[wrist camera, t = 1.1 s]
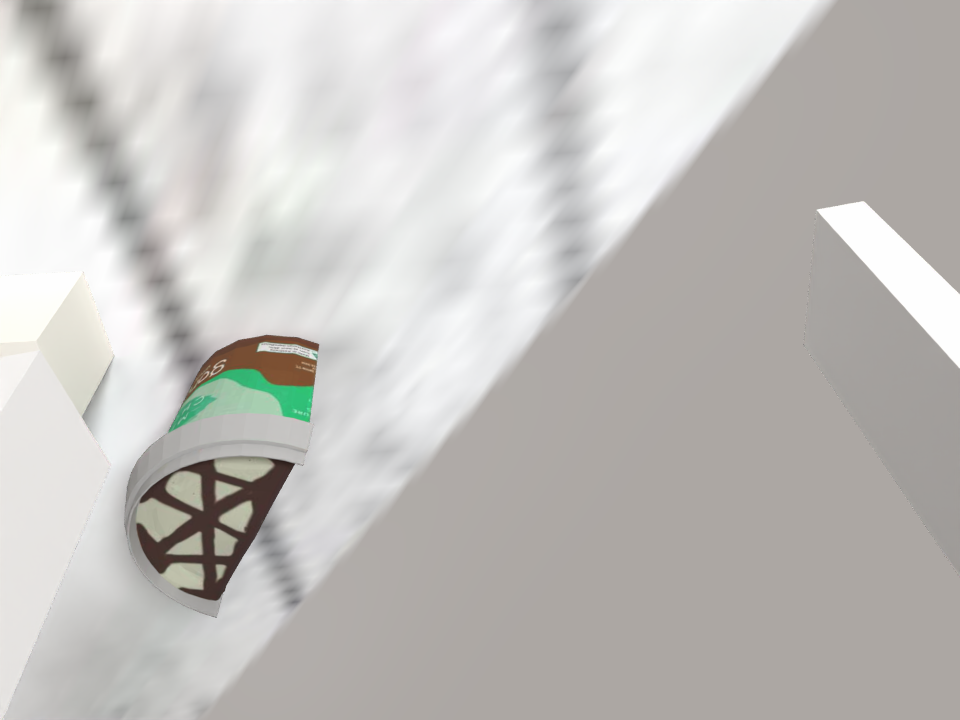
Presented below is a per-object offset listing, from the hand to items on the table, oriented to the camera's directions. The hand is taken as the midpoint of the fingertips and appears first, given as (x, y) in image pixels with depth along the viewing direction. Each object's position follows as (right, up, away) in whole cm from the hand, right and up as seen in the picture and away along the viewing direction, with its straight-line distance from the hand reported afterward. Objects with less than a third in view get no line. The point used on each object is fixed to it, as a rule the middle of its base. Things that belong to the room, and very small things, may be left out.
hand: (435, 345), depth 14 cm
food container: (-13, -2, +30) cm, 32 cm away
